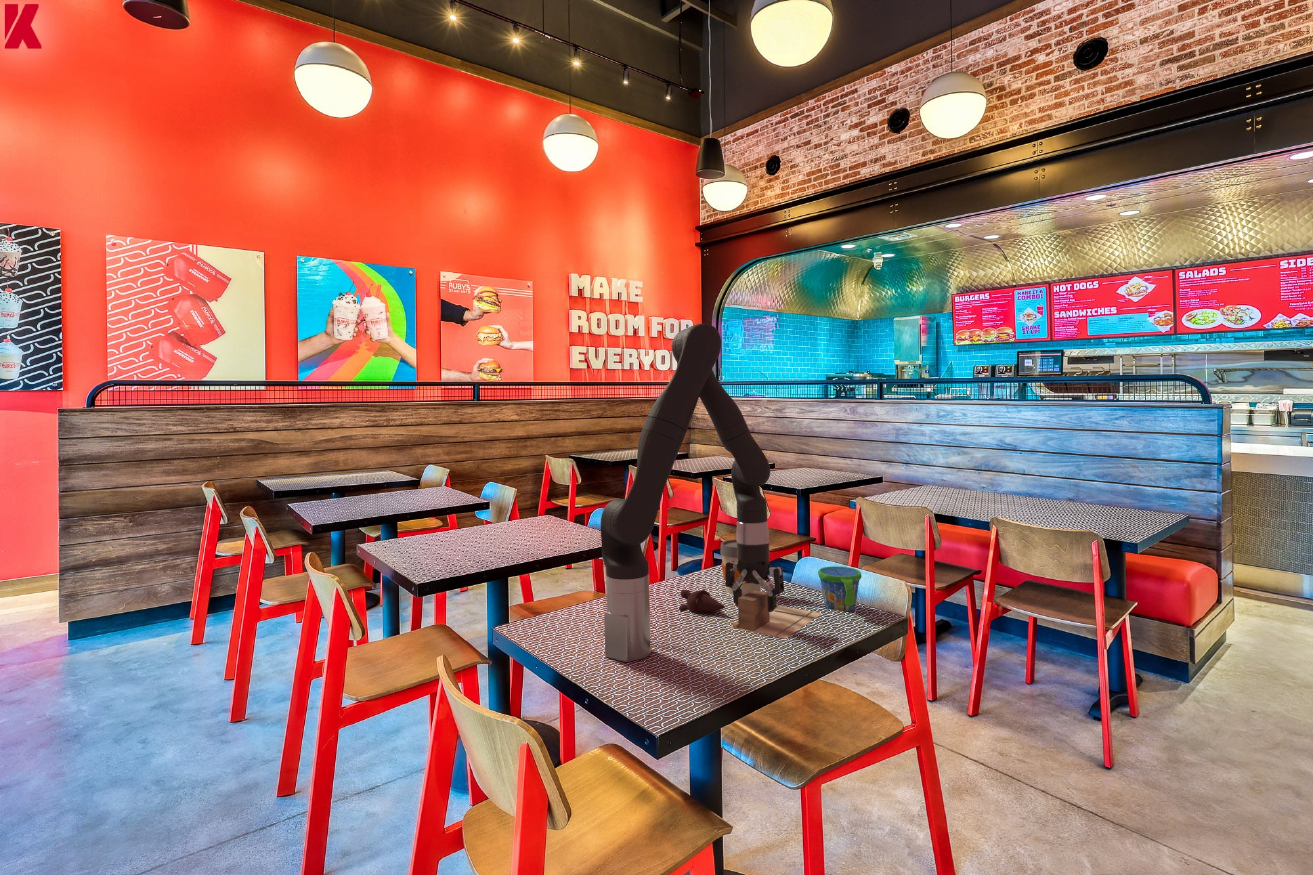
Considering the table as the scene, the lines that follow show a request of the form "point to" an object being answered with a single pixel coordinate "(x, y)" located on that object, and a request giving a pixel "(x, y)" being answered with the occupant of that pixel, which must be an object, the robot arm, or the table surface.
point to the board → (784, 622)
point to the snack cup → (839, 587)
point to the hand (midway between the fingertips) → (754, 608)
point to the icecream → (699, 602)
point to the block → (753, 610)
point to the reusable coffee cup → (729, 555)
